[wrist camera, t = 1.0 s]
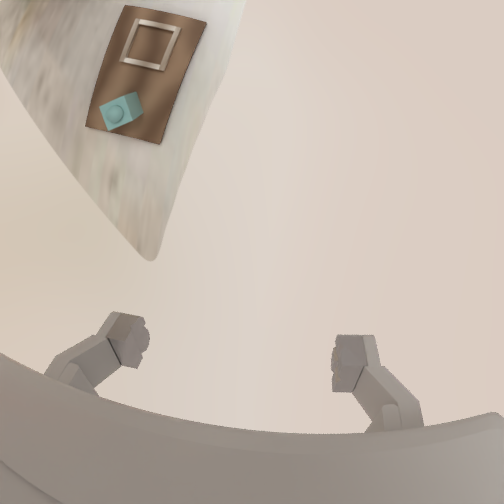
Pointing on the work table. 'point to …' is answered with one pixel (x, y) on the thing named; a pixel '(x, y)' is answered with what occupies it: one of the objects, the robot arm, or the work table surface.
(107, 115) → the studded block
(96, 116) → the brown board with frame
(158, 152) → the work table surface
